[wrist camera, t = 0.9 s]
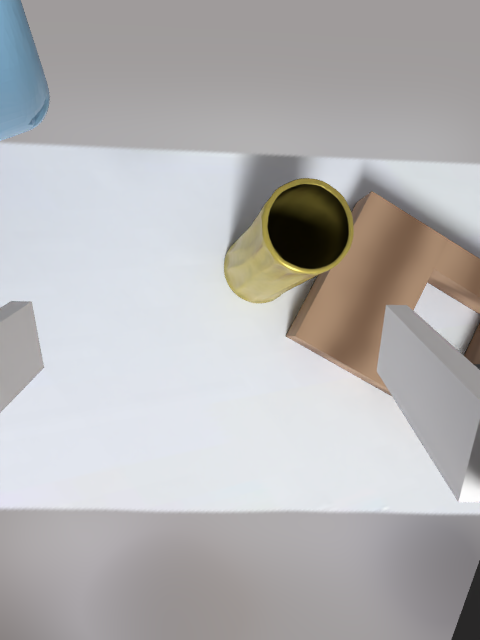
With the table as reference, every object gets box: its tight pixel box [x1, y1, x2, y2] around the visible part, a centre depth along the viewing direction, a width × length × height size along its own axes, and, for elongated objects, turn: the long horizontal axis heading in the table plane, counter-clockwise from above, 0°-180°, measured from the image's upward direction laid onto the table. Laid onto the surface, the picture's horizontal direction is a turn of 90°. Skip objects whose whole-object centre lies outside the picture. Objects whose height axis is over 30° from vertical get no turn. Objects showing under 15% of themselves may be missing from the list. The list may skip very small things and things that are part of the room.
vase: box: [224, 178, 354, 303], centre depth 29 cm, size 6×6×14 cm
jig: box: [286, 191, 480, 396], centre depth 36 cm, size 18×14×3 cm
